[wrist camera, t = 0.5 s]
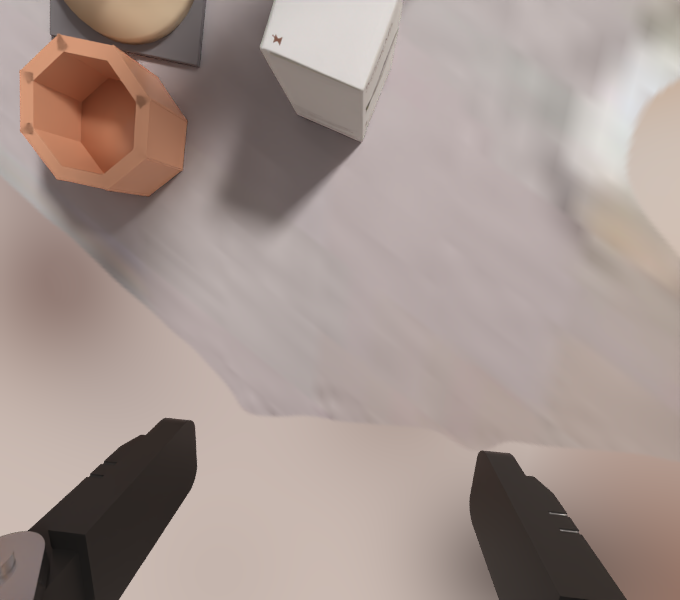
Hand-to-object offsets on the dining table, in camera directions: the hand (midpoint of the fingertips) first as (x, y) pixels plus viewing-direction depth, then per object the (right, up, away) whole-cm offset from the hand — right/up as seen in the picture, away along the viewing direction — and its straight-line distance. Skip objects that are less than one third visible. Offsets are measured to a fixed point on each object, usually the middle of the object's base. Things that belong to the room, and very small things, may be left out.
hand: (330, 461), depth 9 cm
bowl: (-22, +22, +25) cm, 40 cm away
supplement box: (+1, +25, +23) cm, 34 cm away
